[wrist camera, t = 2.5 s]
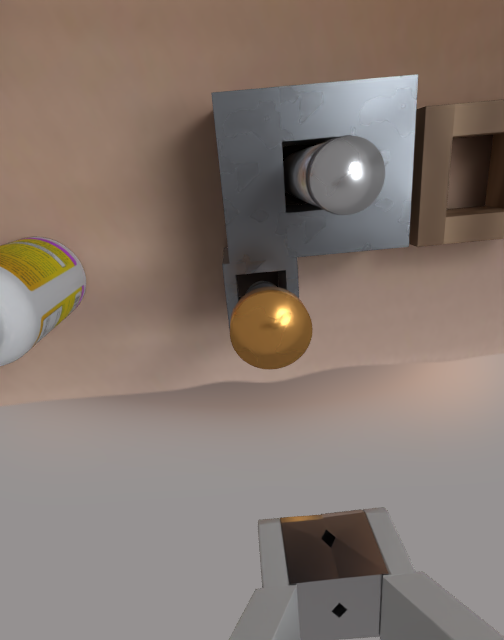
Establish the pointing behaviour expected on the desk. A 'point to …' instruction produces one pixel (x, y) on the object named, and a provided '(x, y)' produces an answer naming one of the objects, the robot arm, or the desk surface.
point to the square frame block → (434, 168)
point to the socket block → (268, 176)
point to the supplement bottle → (35, 292)
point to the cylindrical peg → (336, 174)
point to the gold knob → (270, 326)
